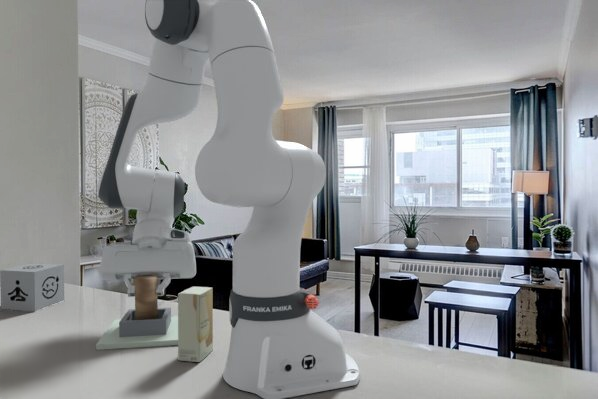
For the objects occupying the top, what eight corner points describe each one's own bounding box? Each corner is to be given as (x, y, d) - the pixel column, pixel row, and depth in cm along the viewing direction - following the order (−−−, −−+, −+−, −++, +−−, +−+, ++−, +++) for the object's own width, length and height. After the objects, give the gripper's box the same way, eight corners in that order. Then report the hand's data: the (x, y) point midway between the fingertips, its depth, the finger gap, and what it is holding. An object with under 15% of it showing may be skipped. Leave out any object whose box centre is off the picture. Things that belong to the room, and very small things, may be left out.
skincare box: (199, 363, 77) (199, 294, 77) (177, 361, 78) (176, 293, 78) (214, 349, 84) (213, 286, 83) (192, 348, 85) (192, 285, 84)
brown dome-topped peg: (159, 315, 95) (158, 274, 95) (156, 321, 91) (155, 278, 91) (137, 316, 95) (136, 275, 94) (133, 323, 90) (132, 279, 90)
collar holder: (188, 319, 102) (188, 302, 102) (182, 344, 86) (182, 324, 86) (115, 323, 99) (115, 305, 99) (95, 349, 84) (95, 329, 83)
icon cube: (32, 299, 120) (31, 263, 120) (64, 301, 118) (63, 264, 118) (0, 309, 110) (0, 270, 110) (35, 312, 108) (34, 271, 108)
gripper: (101, 234, 97) (89, 288, 88) (196, 232, 101) (194, 284, 91) (107, 251, 102) (96, 304, 92) (197, 249, 105) (195, 300, 96)
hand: (145, 294), depth 92 cm, fingers closed on brown dome-topped peg, 4 cm apart
